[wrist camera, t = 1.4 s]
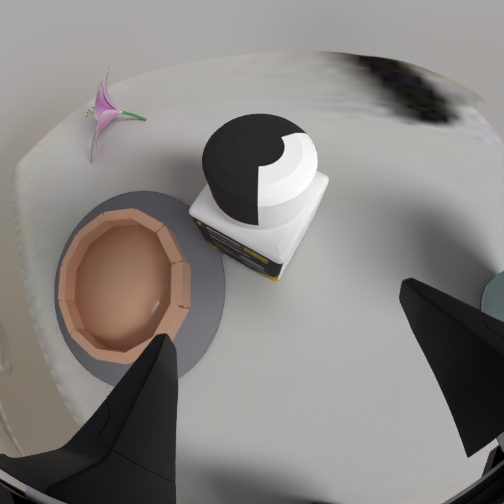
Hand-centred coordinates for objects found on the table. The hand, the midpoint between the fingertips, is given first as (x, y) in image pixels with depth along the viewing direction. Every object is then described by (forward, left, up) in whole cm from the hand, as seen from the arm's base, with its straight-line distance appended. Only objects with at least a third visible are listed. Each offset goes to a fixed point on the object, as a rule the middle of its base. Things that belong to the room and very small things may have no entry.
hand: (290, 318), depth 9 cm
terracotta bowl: (-5, +14, -13) cm, 20 cm away
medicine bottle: (+6, +5, -14) cm, 16 cm away
